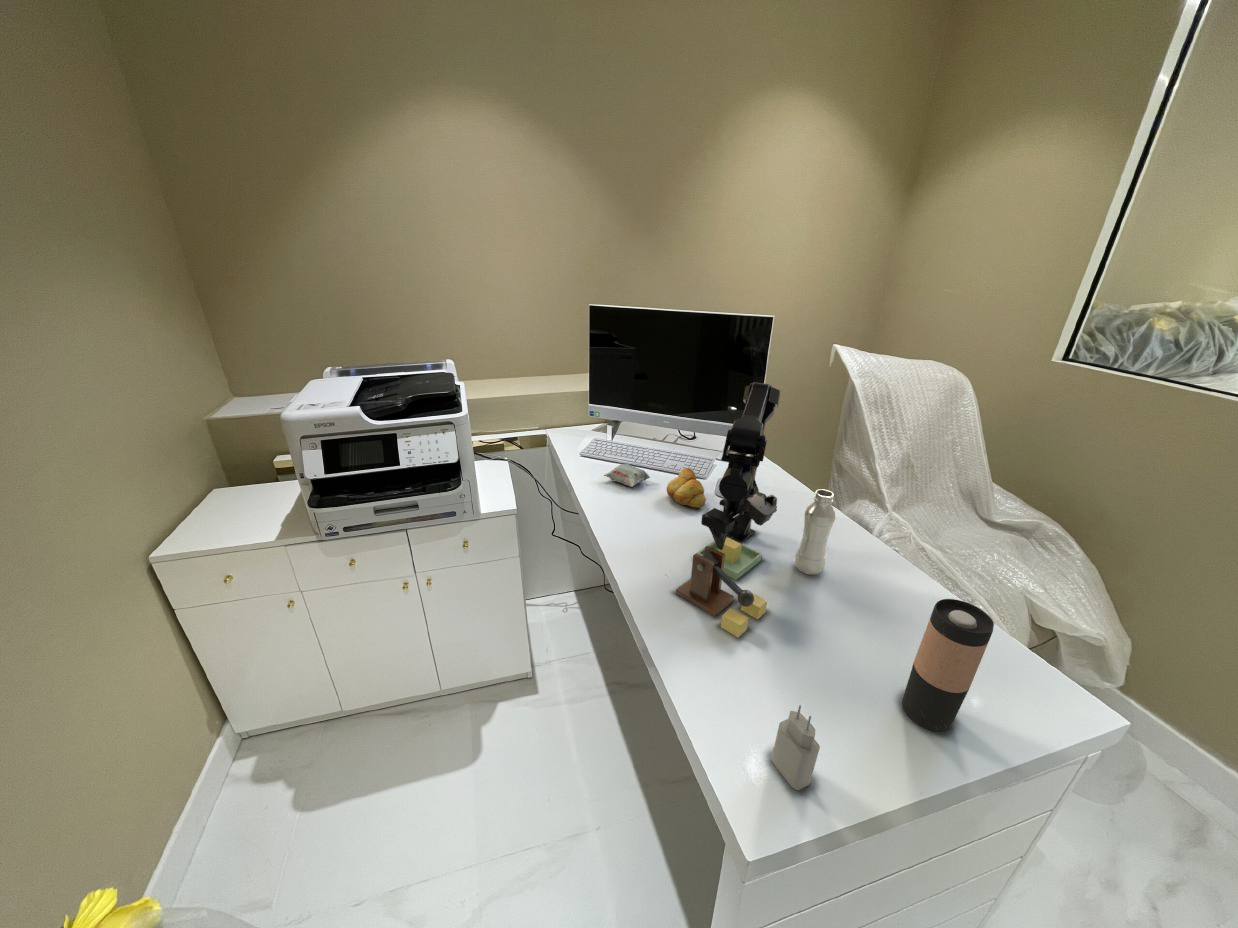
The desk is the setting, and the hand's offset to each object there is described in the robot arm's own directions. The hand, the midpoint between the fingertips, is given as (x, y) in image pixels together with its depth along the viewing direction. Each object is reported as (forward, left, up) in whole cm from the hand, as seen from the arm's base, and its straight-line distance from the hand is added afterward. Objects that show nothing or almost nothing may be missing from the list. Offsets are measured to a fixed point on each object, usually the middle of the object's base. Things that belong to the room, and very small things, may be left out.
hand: (731, 541), depth 117 cm
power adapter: (+38, +35, -5) cm, 52 cm away
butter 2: (+12, +13, -5) cm, 19 cm away
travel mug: (+13, +46, -5) cm, 48 cm away
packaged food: (-12, -45, -5) cm, 47 cm away
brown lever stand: (+15, +4, -5) cm, 17 cm away
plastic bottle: (-10, +15, -5) cm, 19 cm away
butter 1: (+19, +13, -5) cm, 24 cm away
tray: (0, 0, -5) cm, 5 cm away
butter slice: (0, 0, -5) cm, 5 cm away
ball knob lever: (+15, +8, 0) cm, 17 cm away
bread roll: (-16, -25, -5) cm, 30 cm away
